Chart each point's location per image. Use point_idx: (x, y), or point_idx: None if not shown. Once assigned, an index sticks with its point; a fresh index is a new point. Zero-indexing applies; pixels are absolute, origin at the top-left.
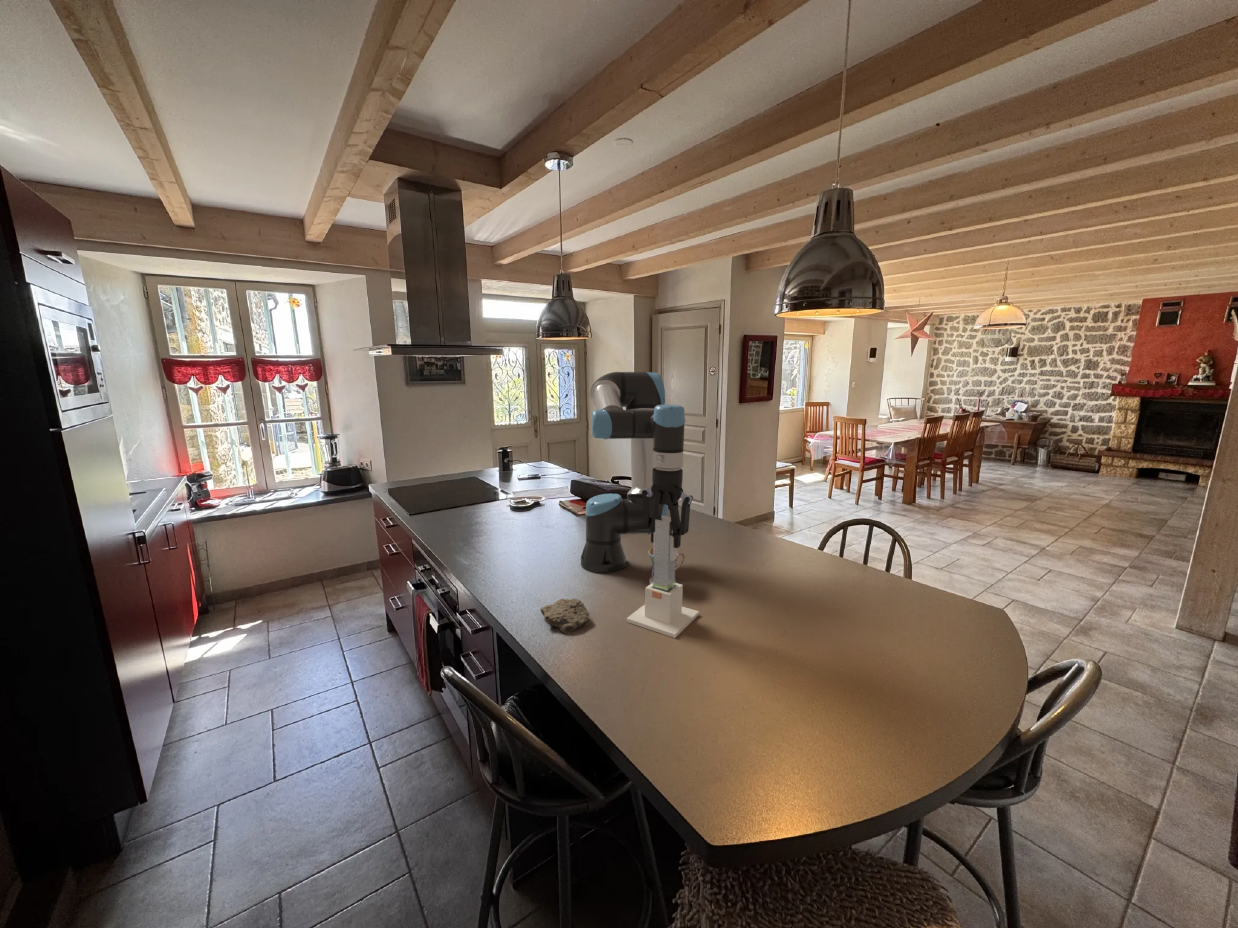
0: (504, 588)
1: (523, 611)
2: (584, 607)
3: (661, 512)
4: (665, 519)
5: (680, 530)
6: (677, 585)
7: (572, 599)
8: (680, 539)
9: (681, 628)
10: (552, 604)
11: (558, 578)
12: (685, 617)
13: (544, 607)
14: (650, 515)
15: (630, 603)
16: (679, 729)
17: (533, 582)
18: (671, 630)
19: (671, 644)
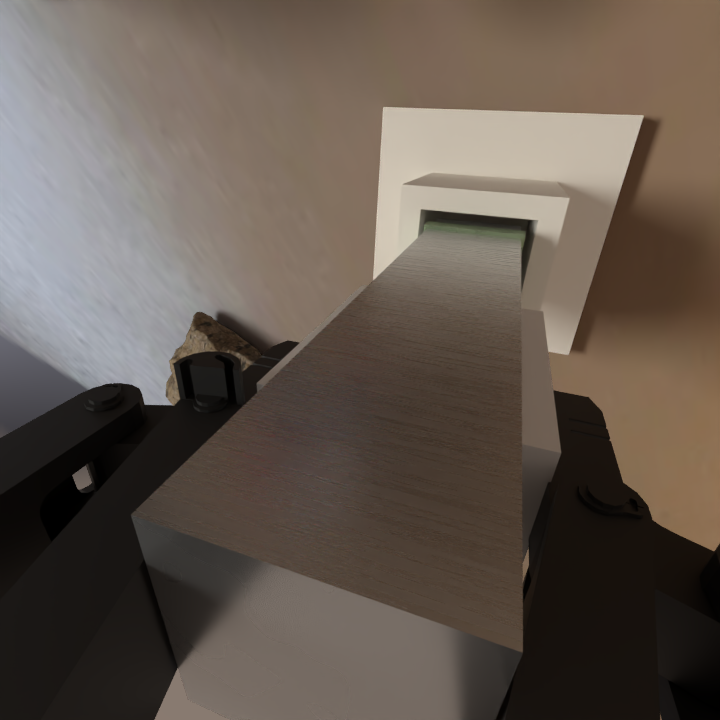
0: (13, 289)
1: (136, 372)
2: (245, 361)
3: (80, 702)
4: (314, 710)
5: (672, 714)
6: (538, 224)
7: (190, 340)
8: (612, 458)
9: (583, 304)
10: (175, 384)
11: (27, 142)
12: (582, 213)
13: (172, 399)
14: (12, 563)
15: (321, 185)
16: None
17: (16, 217)
18: (548, 336)
19: (564, 385)
